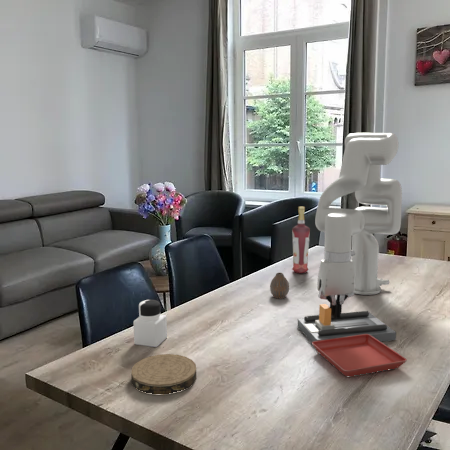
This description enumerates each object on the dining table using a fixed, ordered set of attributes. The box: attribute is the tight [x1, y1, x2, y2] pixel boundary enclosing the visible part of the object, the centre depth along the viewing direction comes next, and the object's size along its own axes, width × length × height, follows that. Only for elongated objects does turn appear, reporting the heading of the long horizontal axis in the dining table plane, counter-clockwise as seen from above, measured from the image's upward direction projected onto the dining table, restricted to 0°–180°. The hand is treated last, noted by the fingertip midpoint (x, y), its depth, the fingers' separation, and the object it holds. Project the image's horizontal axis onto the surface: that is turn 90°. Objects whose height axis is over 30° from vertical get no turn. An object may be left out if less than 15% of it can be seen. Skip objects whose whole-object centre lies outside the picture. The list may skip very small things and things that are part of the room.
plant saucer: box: [311, 334, 408, 377], centre depth 132 cm, size 18×18×3 cm
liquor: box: [291, 206, 311, 275], centre depth 211 cm, size 7×7×28 cm
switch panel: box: [297, 310, 397, 343], centre depth 150 cm, size 24×16×4 cm, turn 101°
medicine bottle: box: [132, 299, 168, 348], centre depth 145 cm, size 7×7×12 cm
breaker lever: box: [315, 303, 335, 330], centre depth 148 cm, size 4×5×6 cm
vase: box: [269, 272, 290, 299], centre depth 182 cm, size 7×7×9 cm
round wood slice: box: [130, 353, 198, 394], centre depth 124 cm, size 16×16×3 cm
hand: (335, 316), depth 148 cm, fingers closed
